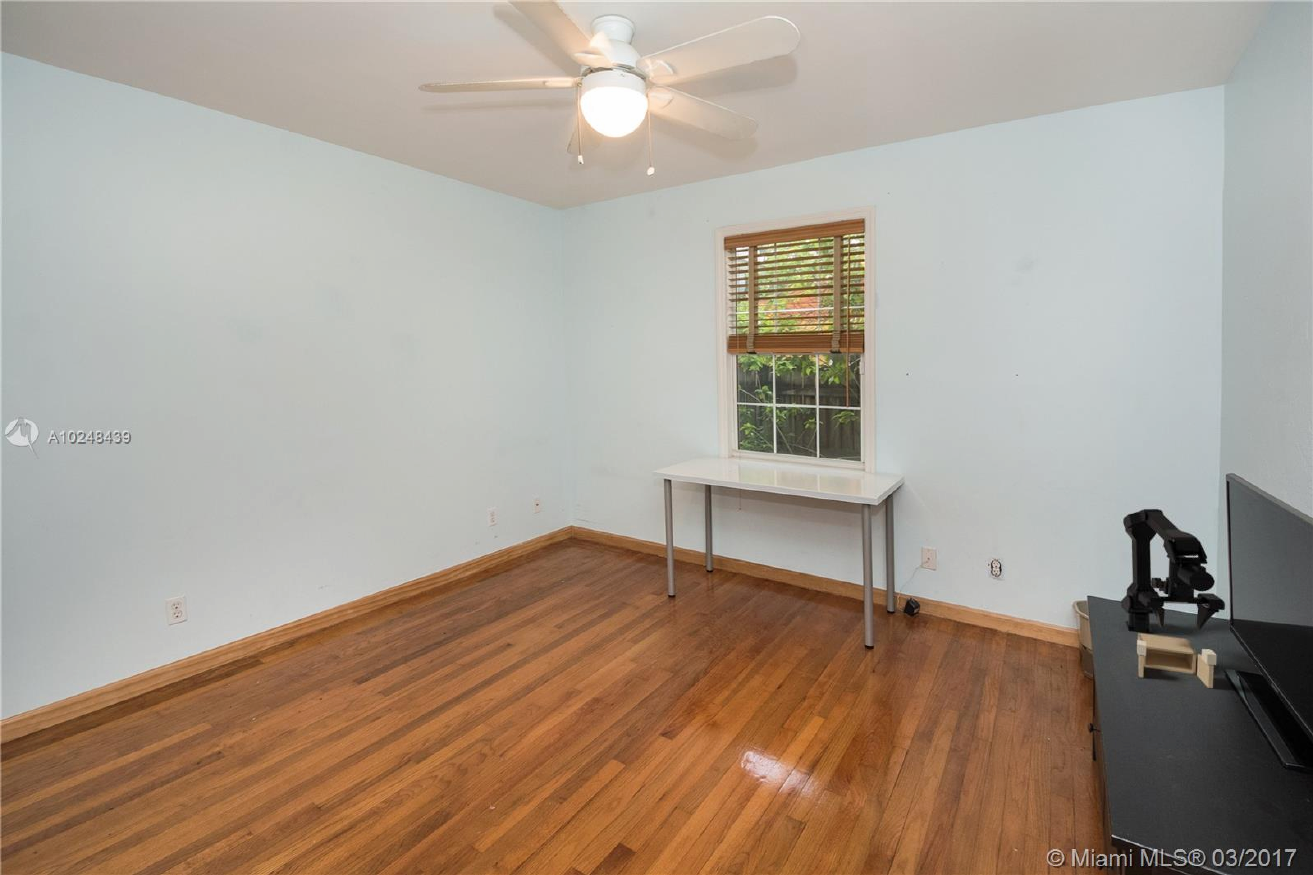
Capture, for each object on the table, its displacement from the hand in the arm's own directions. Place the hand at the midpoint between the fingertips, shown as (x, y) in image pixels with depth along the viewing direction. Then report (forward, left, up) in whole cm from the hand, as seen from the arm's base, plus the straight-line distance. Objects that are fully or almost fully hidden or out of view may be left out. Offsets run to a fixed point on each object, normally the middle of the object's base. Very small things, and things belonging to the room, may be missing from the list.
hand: (1179, 627), depth 177 cm
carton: (0, -3, -12) cm, 12 cm away
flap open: (+8, +4, -12) cm, 15 cm away
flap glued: (+8, -10, -12) cm, 18 cm away
